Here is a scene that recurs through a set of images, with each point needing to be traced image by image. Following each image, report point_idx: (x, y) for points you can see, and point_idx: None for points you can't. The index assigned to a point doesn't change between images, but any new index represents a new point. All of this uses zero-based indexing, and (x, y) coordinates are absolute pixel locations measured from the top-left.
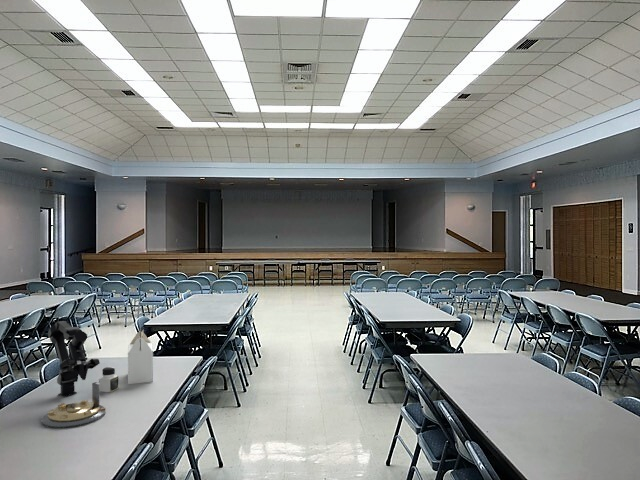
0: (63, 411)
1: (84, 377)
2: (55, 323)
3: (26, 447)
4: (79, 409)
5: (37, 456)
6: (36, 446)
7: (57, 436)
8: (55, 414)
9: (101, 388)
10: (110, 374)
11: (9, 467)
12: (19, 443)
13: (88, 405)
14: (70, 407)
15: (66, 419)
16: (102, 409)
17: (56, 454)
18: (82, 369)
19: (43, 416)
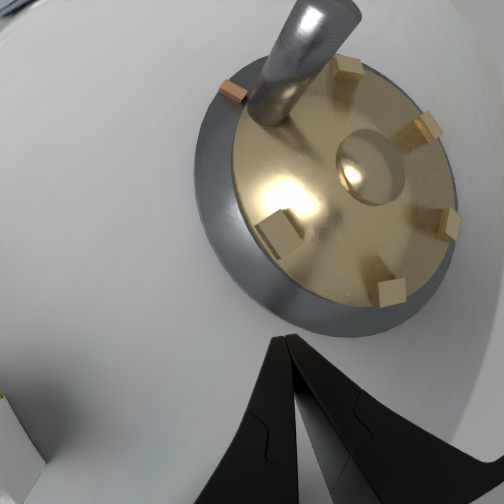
0: (406, 204)
1: (296, 343)
2: None
3: (484, 109)
4: (360, 130)
5: (467, 55)
6: (471, 91)
7: (434, 85)
8: (436, 200)
9: (30, 457)
10: None
11: (496, 73)
12: (494, 145)
13: (284, 164)
14: (385, 193)
15: (417, 113)
16: (238, 89)
17: (442, 27)
18: (385, 417)
19: (443, 272)
